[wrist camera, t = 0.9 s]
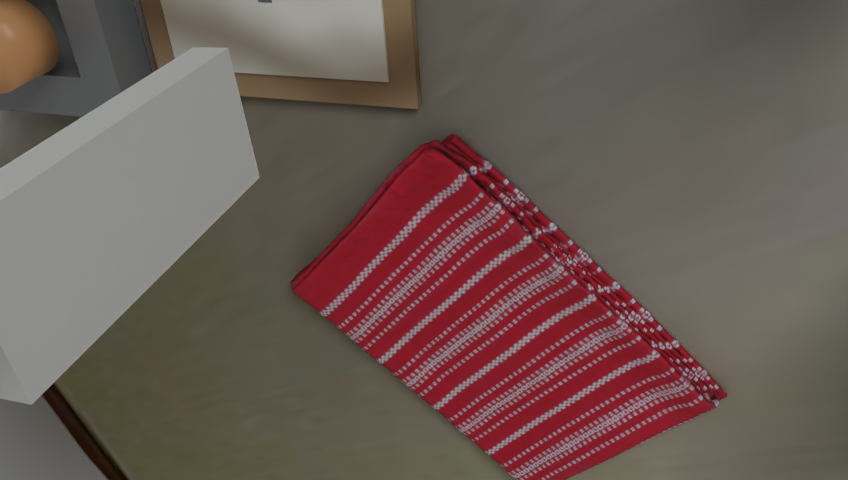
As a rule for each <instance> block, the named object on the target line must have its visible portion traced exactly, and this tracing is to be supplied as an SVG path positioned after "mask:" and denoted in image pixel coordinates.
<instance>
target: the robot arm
mask: <svg viewBox="0 0 848 480" xmlns="http://www.w3.org/2000/svg"><path fill="white" fill-rule="evenodd" d="M259 178H260V177H259V172H258V168H257V164H256V160H255V156H254V152H253V148H252V144H251V140H250V135H249V131H248V127H247V123H246V119H245V115H244V111H243V107H242V103H241V98H240V94H239V90H238V86H237V82H236V78H235V74H234V70H233V65H232V61H231V57H230V53H229V49H228V48H213V47H193V48H191V49H190V50H188V51H187V52H185V53H183V54H182V55H180V56H179V57H177V58H175V59H174V60H172V61H171V62H169V63H167V64H166V65H164V66H163V67H161V68H159V69H158V70H156V71H155V72H153V73H152V74H150V75H148V76H147V77H145V78H144V79H142V80H140V81H139V82H137V83H136V84H134V85H132V86H131V87H129V88H128V89H126V90H124V91H123V92H121V93H120V94H118V95H116V96H115V97H113V98H112V99H110V100H108V101H107V102H105V103H104V104H102V105H100V106H99V107H97V108H96V109H94V110H92V111H91V112H89V113H88V114H86V115H85V116H83V117H81V118H80V119H78V120H77V121H75V122H73V123H72V124H70V125H69V126H67V127H65V128H64V129H62V130H61V131H59V132H57V133H56V134H54V135H53V136H51V137H49V138H48V139H46V140H45V141H43V142H41V143H40V144H38V145H37V146H35V147H33V148H32V149H30V150H29V151H27V152H26V153H24V154H22V155H21V156H19V157H18V158H16V159H14V160H13V161H11V162H10V163H8V164H6V165H5V166H3V167H2V168H0V399H5V400H10V401H16V402H21V403H26V404H31V405H32V404H33V403H34V402H35V401H36V400H37V399H38V398H39V397H40V396H41V395H42V394H43V393H44V392H45V391H46V390H47V389H48V388H49V387H50V386H51V385H52V384H53V383H54V382H55V381H56V380H57V379H58V378H59V377H60V376H61V375H62V374H63V373H64V372H65V371H66V370H67V369H68V368H69V367H70V366H71V365H72V364H73V363H74V362H75V361H76V360H77V359H78V358H79V357H80V356H81V355H82V354H83V353H84V352H85V351H86V350H87V349H88V348H89V347H90V346H91V345H92V344H93V343H94V342H95V341H96V340H97V339H98V338H99V337H100V336H101V335H102V334H103V333H104V332H105V331H106V330H107V329H108V328H109V327H110V326H111V325H112V324H113V323H114V322H115V321H116V320H117V319H118V318H119V317H120V316H121V315H122V314H123V313H124V312H125V311H126V310H127V309H128V308H129V307H130V306H131V305H132V304H133V303H134V302H135V301H136V300H137V299H138V298H139V297H140V296H141V295H142V294H143V293H144V292H145V291H146V290H147V289H148V288H149V287H150V286H151V285H152V284H153V283H154V282H155V281H156V280H157V279H158V278H159V277H160V276H161V275H162V274H163V273H164V272H165V271H166V270H167V269H168V268H169V267H170V266H171V265H172V264H173V263H174V262H175V261H176V260H177V259H178V258H179V257H180V256H181V255H182V254H183V253H184V252H185V251H186V250H187V249H188V248H189V247H190V246H191V245H192V244H193V243H194V242H195V241H196V240H197V239H198V238H199V237H200V236H201V235H202V234H203V233H204V232H205V231H206V230H207V229H208V228H209V227H210V226H211V225H212V224H213V223H214V222H215V221H216V220H217V219H218V218H219V217H220V216H221V215H222V214H223V213H224V212H225V211H226V210H227V209H228V208H229V207H230V206H231V205H232V204H233V203H234V202H235V201H236V200H237V199H238V198H239V197H240V196H241V195H242V194H243V193H244V192H245V191H246V190H247V189H248V188H249V187H250V186H252V185H253V184H254V183H255V182H256V181H257V180H258V179H259Z"/></svg>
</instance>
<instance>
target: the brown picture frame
mask: <svg viewBox="0 0 848 480" xmlns="http://www.w3.org/2000/svg"><path fill="white" fill-rule="evenodd" d="M140 2H141V6H142V10H143V14H144V18H145V22H146V25H147V29H148V33H149V37H150V41H151V44H152V48H153V52H154V56H155V60H156V63H157V67H158V69H159V68H161V67H163V66H164V65H166V64H167V63H169V62H171V61H172V60H174V59H175V58H177V57H179V56H180V55H182V54H183V53H185V52H187V51H188V50H190V49H191V48H193V47H213V48H228V49H229V53H230V57H231V61H232V65H233V70H234V74H235V78H236V82H237V86H238V90H239V94H240V96H247V97H261V98H274V99H288V100H301V101H315V102H328V103H341V104H355V105H368V106H382V107H395V108H409V109H419V107H420V106H421V105H422V104H421V89H420V74H419V59H418V44H417V29H416V14H415V0H140Z"/></svg>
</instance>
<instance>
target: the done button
mask: <svg viewBox="0 0 848 480" xmlns="http://www.w3.org/2000/svg"><path fill="white" fill-rule="evenodd" d="M58 58H59V45H58V41H57V37H56V35H55V32H54V30H53V28H52V26H51V25H50V23H49V21H48V20H47V19H46V17H45V16H44V15H43V14H42V13H41V12H40V11H39V10H38V9H37V8H36V7H35V6H33V5H32V4H31V3H29V2H27V1H25V0H0V94H4V93H8V92H11V91H13V90H15V89H17V88H18V87H20V86H22V85H24V84H26V83H28V82H30V81H32V80H34V79H36V78H38V77H39V76H41V75H43V74H45V73H47V72H49V71H51V70H52V69H53V68H54V67H55V66H56V64H57V62H58Z"/></svg>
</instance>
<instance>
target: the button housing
mask: <svg viewBox="0 0 848 480" xmlns="http://www.w3.org/2000/svg"><path fill="white" fill-rule="evenodd" d="M25 1H27V2H29V3H31V4H32V5H33V6H35V7H36V8H37V9H38V10H39V11H40V12H41V13H42V14H43V15H44V16H45V17H46V19H47V20H48V21H49V23H50V25H51V26H52V28H53V30H54V32H55V35H56V37H57V41H58V45H59V58H58V62H57V64H56V66H55V67H54V68H53V69H52V70H51V71H49V72H47V73H45V74H43V75H41V76H39V77H38V78H36V79H34V80H32V81H30V82H28V83H26V84H24V85H22V86H20V87H18V88H17V89H15V90H13V91H11V92H8V93H4V94H0V110H10V111H22V112H33V113H44V114H55V115H66V116H77V117H83V116H85V115H86V114H88V113H89V112H91V111H92V110H94V109H96V108H97V107H99V106H100V105H102V104H104V103H105V102H107V101H108V100H110V99H112V98H113V97H115V96H116V95H118V94H120V93H121V92H123V91H124V90H126V89H128V88H129V87H131V86H132V85H134V84H136V83H137V82H139V81H140V80H142V79H144V78H145V77H147V76H148V75H150V74H152V72H151V68H150V64H149V60H148V57H147V53H146V49H145V45H144V42H143V38H142V34H141V31H140V27H139V23H138V19H137V16H136V12H135V8H134V4H133V1H132V0H25Z"/></svg>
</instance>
